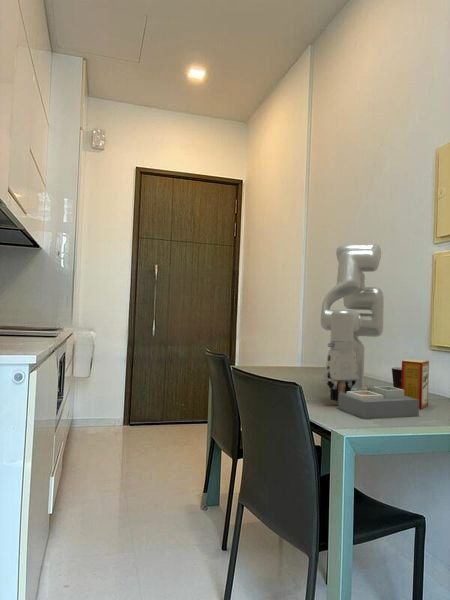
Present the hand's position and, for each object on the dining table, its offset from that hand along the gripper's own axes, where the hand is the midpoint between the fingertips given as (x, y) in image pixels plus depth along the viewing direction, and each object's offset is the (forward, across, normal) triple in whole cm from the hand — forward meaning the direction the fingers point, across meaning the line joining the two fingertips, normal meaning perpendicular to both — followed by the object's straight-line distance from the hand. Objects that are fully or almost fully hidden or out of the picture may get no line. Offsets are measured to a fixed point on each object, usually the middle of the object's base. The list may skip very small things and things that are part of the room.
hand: (340, 399), depth 153 cm
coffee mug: (+2, +39, +13) cm, 41 cm away
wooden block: (+2, 0, 0) cm, 2 cm away
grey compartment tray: (+2, +6, -12) cm, 14 cm away
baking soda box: (+2, +26, -6) cm, 27 cm away
